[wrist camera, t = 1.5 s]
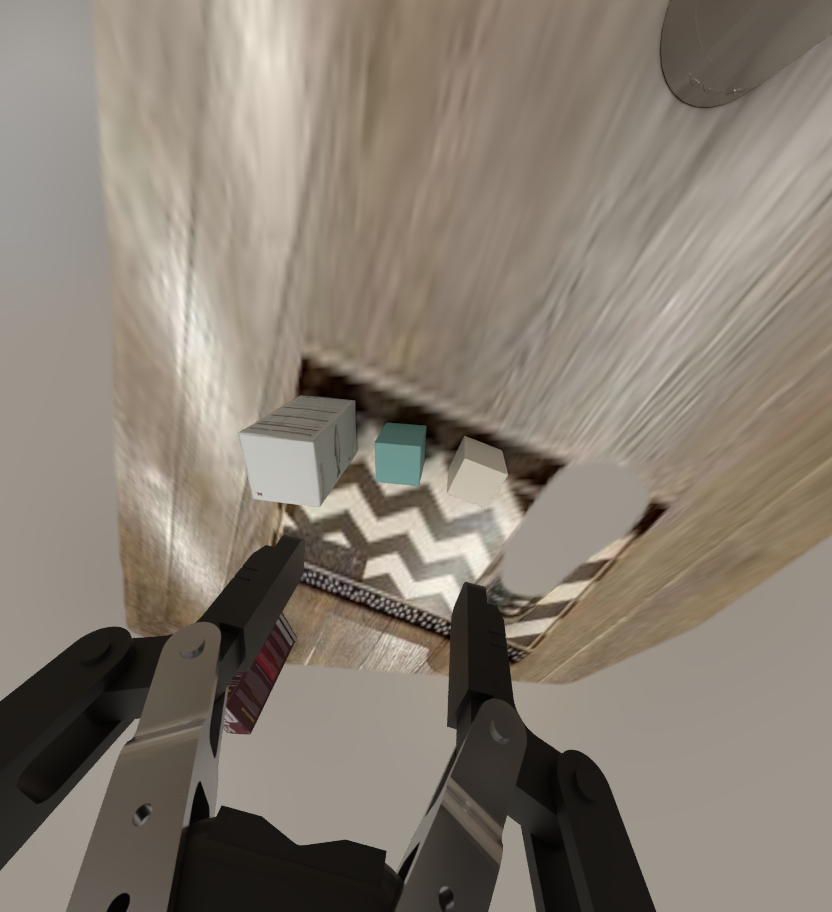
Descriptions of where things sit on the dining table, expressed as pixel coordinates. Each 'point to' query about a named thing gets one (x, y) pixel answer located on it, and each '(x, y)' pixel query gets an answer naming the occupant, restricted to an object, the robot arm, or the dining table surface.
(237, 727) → the supplement box
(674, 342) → the dining table surface
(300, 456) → the supplement box
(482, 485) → the cream block
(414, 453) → the teal block
